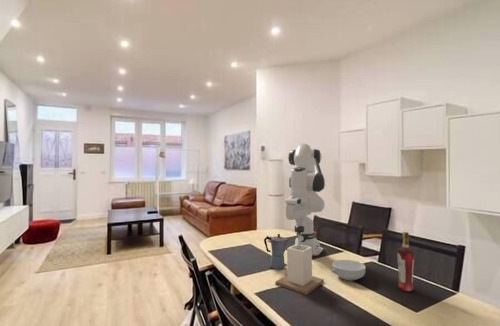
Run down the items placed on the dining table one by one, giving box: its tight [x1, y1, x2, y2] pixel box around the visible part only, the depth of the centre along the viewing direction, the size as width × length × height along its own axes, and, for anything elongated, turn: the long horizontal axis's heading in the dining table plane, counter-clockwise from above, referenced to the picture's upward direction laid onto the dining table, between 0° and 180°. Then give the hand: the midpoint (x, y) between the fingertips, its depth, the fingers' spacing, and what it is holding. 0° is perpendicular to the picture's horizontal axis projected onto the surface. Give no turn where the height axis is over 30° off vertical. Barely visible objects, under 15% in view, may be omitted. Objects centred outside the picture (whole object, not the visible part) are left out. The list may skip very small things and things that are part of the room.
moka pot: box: [263, 233, 290, 271], centre depth 171 cm, size 10×15×20 cm, turn 78°
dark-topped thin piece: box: [294, 225, 304, 250], centre depth 148 cm, size 6×6×17 cm
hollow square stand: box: [274, 243, 325, 295], centre depth 148 cm, size 18×18×18 cm
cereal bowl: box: [332, 259, 367, 282], centre depth 155 cm, size 17×17×7 cm
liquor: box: [396, 231, 415, 293], centre depth 140 cm, size 7×7×28 cm
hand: (299, 225), depth 148 cm, fingers closed
